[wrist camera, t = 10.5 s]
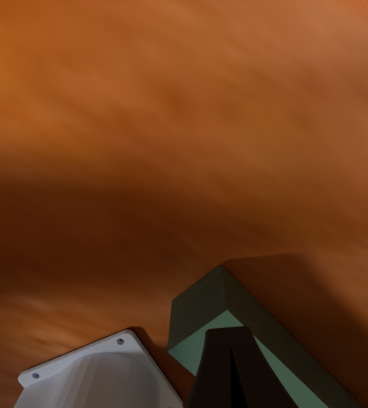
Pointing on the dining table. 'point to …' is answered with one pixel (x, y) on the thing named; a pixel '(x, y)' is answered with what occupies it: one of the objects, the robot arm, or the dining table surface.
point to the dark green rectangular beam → (263, 333)
